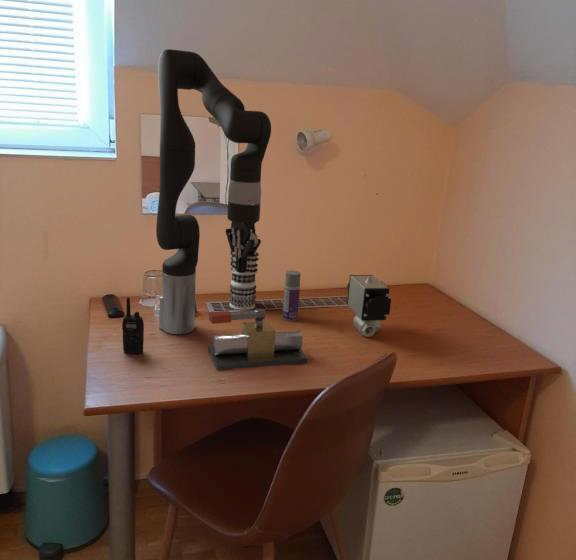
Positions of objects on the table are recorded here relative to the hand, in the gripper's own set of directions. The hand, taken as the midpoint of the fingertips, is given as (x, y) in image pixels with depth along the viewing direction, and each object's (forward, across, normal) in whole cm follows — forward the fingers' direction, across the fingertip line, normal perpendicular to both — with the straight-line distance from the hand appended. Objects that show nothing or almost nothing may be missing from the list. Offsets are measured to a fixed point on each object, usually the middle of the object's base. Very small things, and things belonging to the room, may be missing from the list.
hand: (240, 271), depth 141 cm
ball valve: (+25, -3, +47) cm, 53 cm away
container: (+26, -23, +32) cm, 47 cm away
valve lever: (+14, -4, +2) cm, 15 cm away
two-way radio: (+26, -20, -19) cm, 38 cm away
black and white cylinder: (+26, -39, +25) cm, 53 cm away
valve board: (+25, -3, +8) cm, 27 cm away
